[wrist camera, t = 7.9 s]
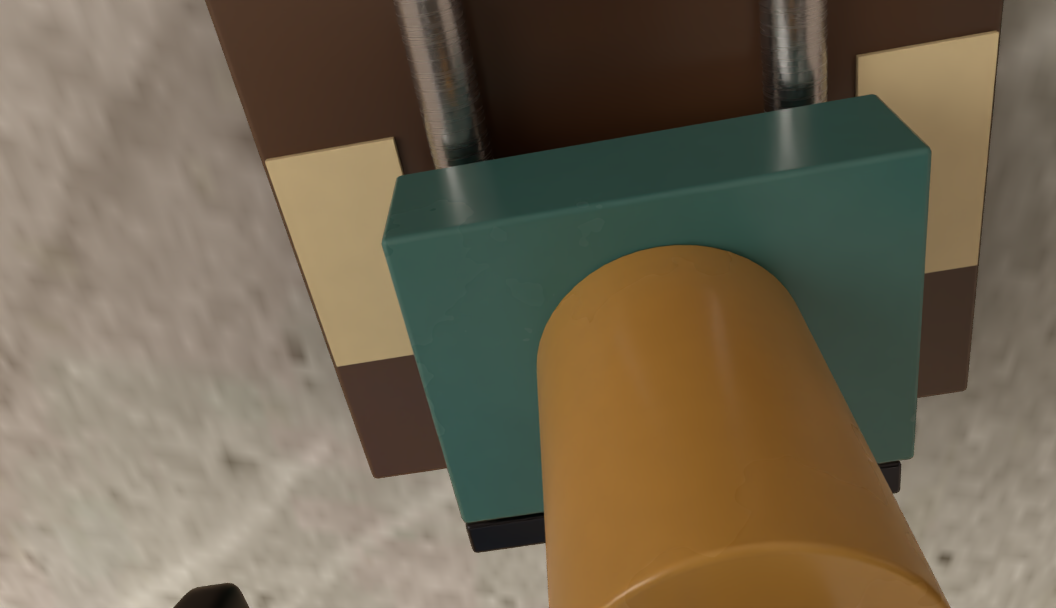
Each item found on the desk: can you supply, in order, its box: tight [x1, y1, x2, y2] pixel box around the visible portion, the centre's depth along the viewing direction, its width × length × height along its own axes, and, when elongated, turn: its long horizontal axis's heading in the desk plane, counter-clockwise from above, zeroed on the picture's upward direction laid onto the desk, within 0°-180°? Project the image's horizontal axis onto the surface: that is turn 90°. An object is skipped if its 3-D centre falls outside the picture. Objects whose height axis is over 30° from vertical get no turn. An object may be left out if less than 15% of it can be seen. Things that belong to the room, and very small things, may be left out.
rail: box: [205, 0, 1004, 553], centre depth 11 cm, size 10×14×3 cm
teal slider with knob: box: [381, 94, 950, 608], centre depth 10 cm, size 6×4×7 cm
